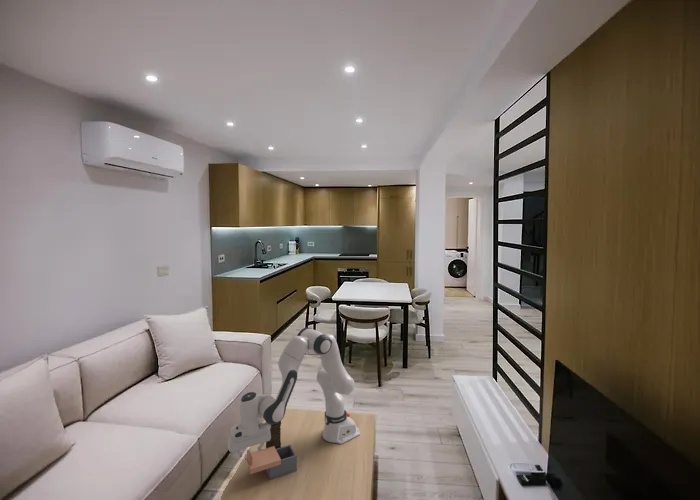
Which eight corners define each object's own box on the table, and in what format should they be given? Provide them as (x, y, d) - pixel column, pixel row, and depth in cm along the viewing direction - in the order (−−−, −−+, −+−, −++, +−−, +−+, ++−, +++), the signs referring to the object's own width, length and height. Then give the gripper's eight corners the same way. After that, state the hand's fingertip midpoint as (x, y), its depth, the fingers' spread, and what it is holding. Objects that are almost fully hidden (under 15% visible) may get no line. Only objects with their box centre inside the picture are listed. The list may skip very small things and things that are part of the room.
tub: (290, 458, 190) (290, 444, 189) (296, 470, 181) (296, 455, 180) (264, 467, 183) (264, 452, 182) (269, 479, 174) (269, 464, 173)
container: (277, 460, 188) (277, 428, 186) (262, 458, 190) (262, 426, 188) (284, 449, 197) (284, 418, 195) (269, 447, 199) (269, 416, 197)
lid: (274, 450, 186) (274, 438, 185) (280, 464, 175) (281, 452, 175) (244, 459, 179) (244, 447, 178) (250, 474, 168) (250, 461, 168)
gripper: (268, 417, 180) (269, 443, 181) (226, 429, 170) (227, 456, 172) (272, 424, 174) (272, 450, 176) (229, 436, 165) (229, 464, 166)
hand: (250, 453), depth 174 cm, fingers open, 8 cm apart
